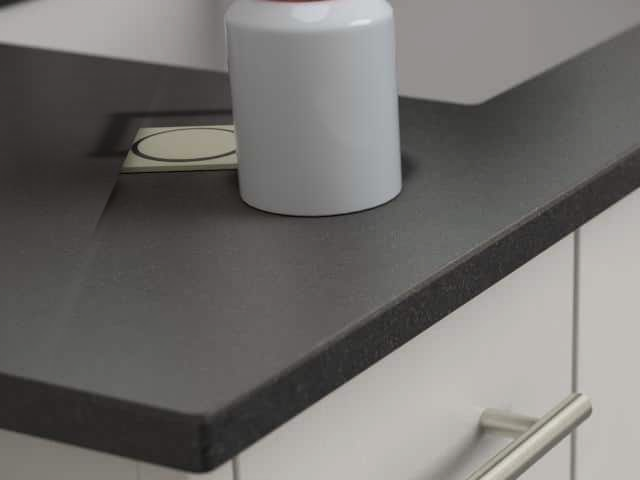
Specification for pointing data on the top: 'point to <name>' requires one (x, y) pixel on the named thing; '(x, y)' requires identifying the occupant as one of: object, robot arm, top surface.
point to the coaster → (182, 149)
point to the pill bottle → (314, 104)
